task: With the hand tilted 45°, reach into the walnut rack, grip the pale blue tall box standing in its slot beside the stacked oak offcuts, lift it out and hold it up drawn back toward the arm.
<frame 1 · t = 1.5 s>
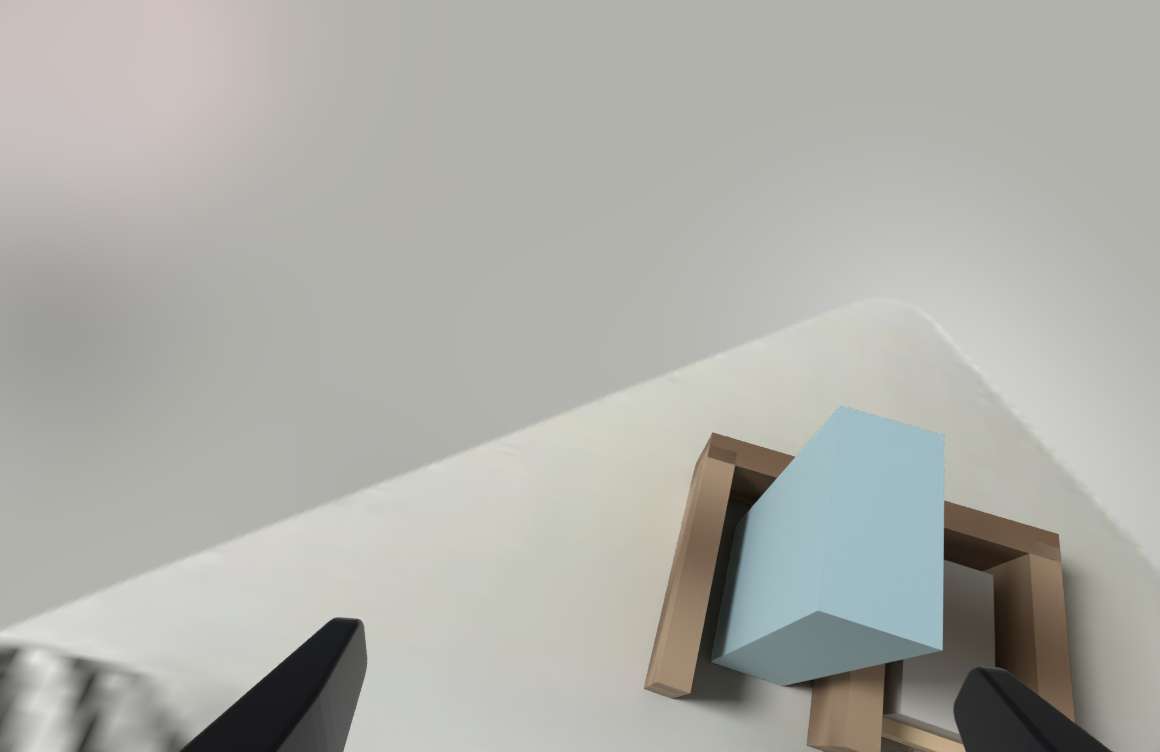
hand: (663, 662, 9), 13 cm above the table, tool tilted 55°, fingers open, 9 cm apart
pale blue tall box: (757, 601, 22), on the table
rack: (757, 600, 22), on the table
offcut lower: (905, 653, 22), on the table, touching offcut upper
offcut upper: (924, 646, 21), point 1 cm above the table, touching offcut lower
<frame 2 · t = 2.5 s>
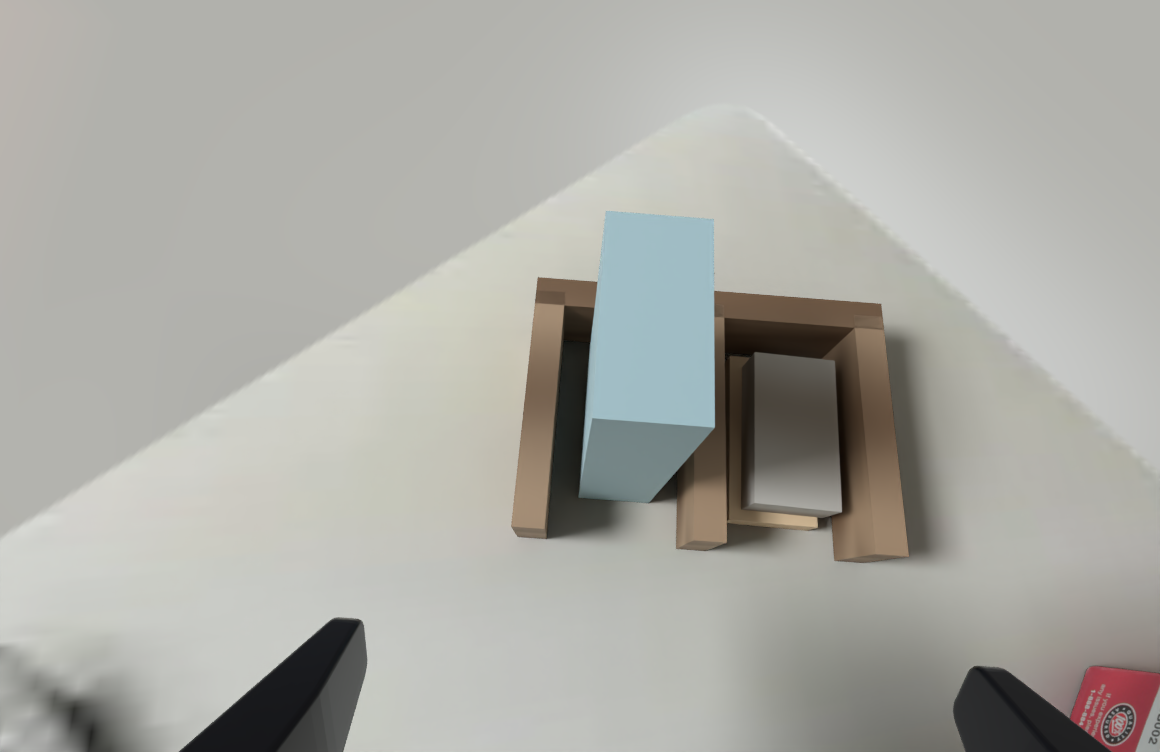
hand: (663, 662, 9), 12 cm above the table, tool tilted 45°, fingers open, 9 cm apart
pale blue tall box: (617, 432, 23), on the table
rack: (617, 432, 23), on the table
offcut lower: (758, 447, 23), on the table, touching offcut upper
offcut upper: (780, 439, 22), point 1 cm above the table, touching offcut lower
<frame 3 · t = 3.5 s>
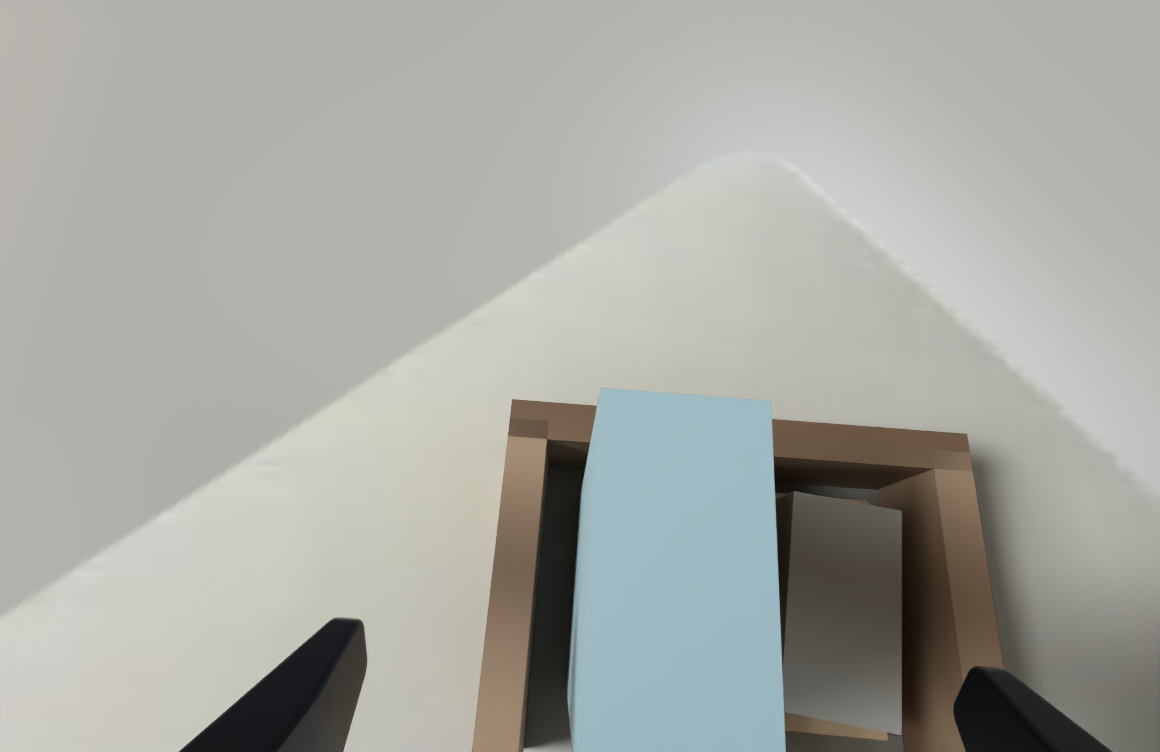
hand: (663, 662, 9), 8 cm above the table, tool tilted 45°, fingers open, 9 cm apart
pale blue tall box: (617, 592, 17), on the table
rack: (617, 592, 17), on the table
offcut lower: (802, 608, 18), on the table, touching offcut upper
offcut upper: (821, 605, 17), point 1 cm above the table, touching offcut lower
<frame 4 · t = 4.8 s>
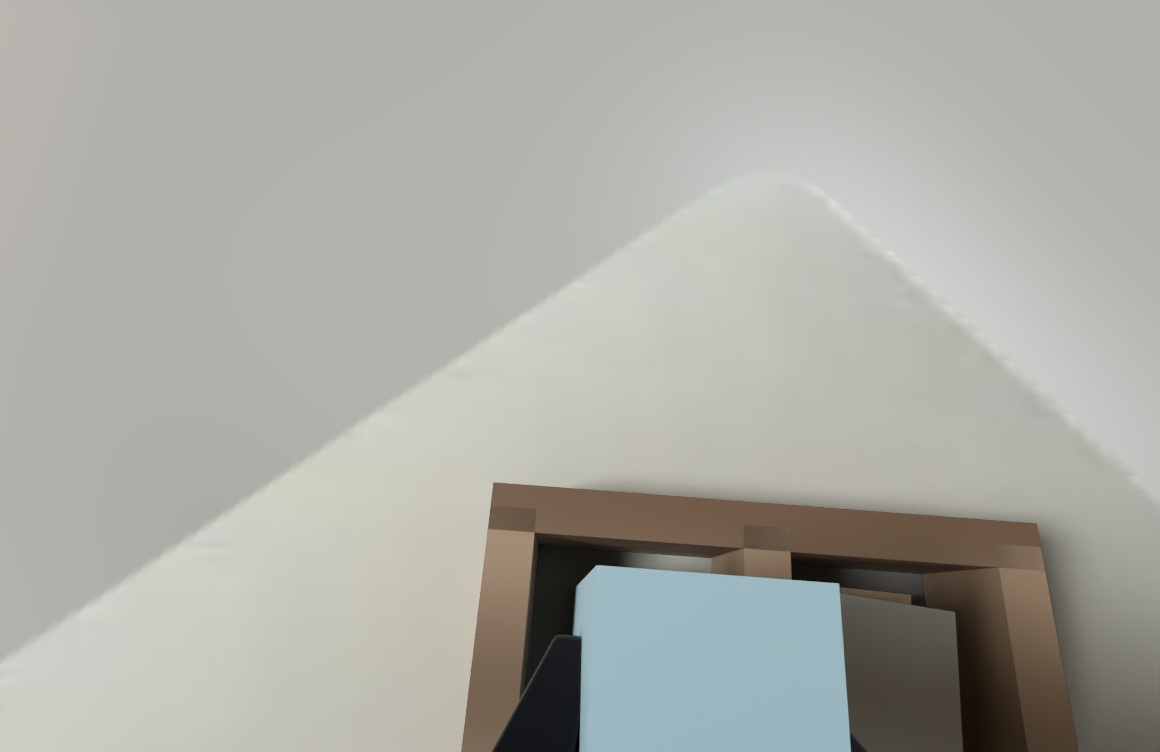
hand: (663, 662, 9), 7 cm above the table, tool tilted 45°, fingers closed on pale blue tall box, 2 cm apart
pale blue tall box: (618, 701, 15), on the table, touching gripper
rack: (618, 702, 15), on the table
offcut lower: (829, 716, 15), on the table
offcut upper: (860, 723, 14), point 1 cm above the table
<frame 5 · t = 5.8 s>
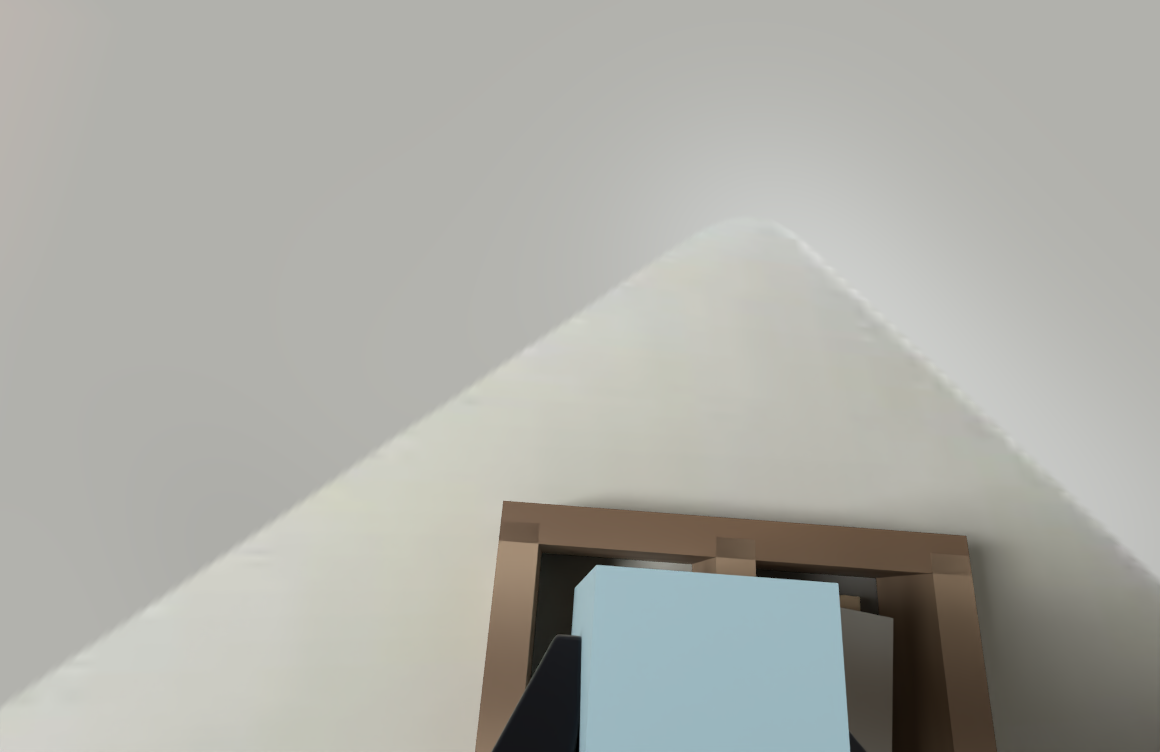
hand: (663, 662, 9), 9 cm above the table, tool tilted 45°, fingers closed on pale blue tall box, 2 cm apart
pale blue tall box: (618, 701, 15), point 2 cm above the table, touching gripper
rack: (610, 689, 17), on the table
offcut upper: (810, 710, 16), point 1 cm above the table, touching offcut lower
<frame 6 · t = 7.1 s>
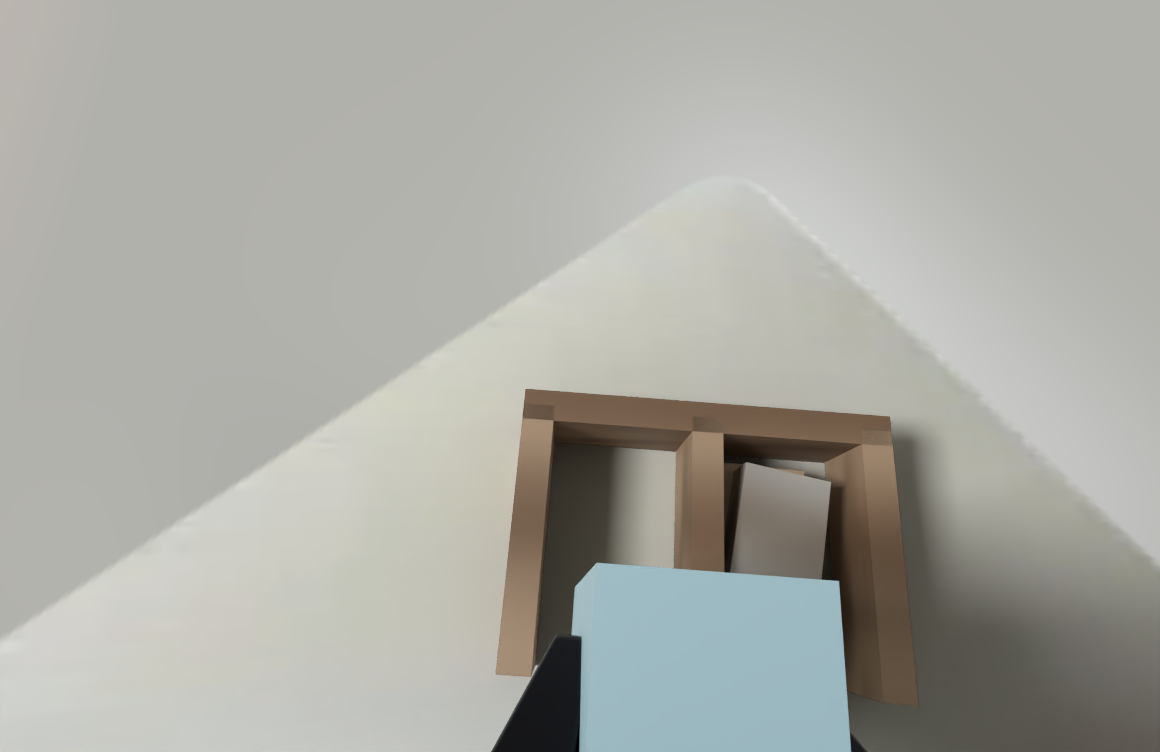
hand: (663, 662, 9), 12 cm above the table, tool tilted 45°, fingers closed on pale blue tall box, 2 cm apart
pale blue tall box: (619, 700, 15), point 6 cm above the table, touching gripper
rack: (610, 544, 22), on the table
offcut lower: (748, 557, 22), on the table, touching offcut upper
offcut upper: (763, 555, 21), point 1 cm above the table, touching offcut lower
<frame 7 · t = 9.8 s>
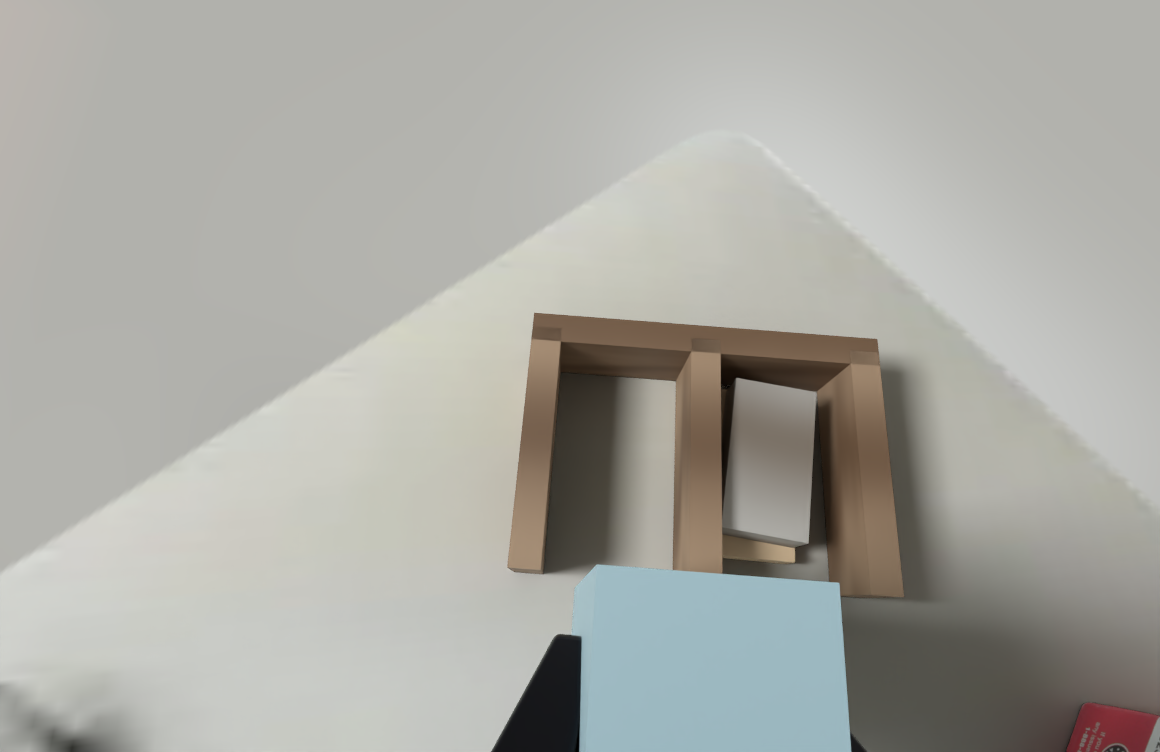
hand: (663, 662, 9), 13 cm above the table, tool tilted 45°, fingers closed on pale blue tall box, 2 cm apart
pale blue tall box: (619, 701, 15), point 6 cm above the table, touching gripper
rack: (613, 465, 23), on the table
offcut lower: (739, 479, 23), on the table, touching offcut upper
offcut upper: (757, 466, 22), point 1 cm above the table, touching offcut lower
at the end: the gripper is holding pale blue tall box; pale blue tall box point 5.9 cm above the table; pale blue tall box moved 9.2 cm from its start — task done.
